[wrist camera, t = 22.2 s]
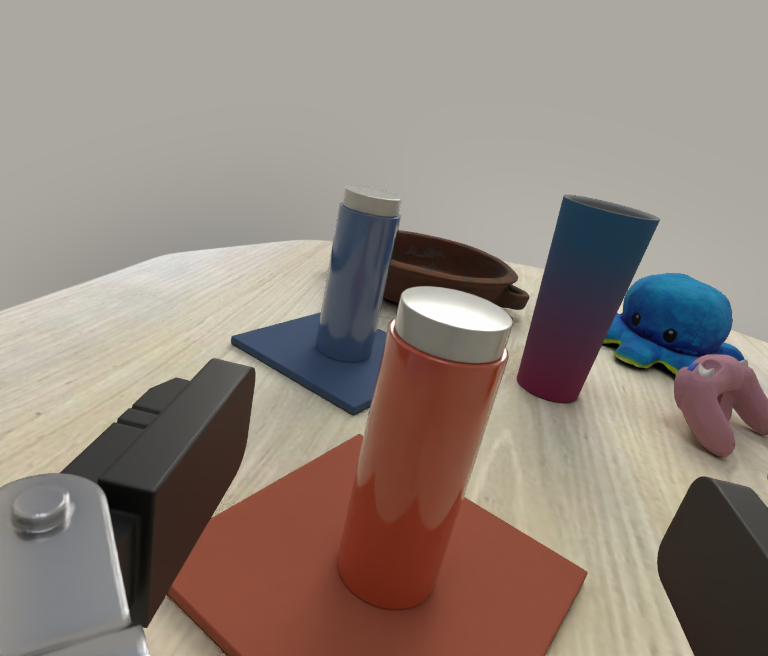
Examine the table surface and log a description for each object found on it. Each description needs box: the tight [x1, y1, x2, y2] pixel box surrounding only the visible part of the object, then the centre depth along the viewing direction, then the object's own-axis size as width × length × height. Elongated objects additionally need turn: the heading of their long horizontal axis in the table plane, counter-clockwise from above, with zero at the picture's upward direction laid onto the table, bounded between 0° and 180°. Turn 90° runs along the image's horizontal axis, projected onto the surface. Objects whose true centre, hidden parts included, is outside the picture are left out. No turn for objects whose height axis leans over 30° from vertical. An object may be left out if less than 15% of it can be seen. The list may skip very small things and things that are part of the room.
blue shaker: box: [316, 185, 402, 362], centre depth 41 cm, size 4×4×12 cm
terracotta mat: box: [167, 434, 587, 656], centre depth 24 cm, size 14×14×1 cm
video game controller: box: [674, 354, 768, 457], centre depth 44 cm, size 10×5×7 cm, turn 126°
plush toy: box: [603, 273, 745, 375], centre depth 58 cm, size 17×17×8 cm
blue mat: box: [231, 313, 386, 415], centre depth 43 cm, size 12×12×1 cm
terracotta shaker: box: [337, 286, 513, 610], centre depth 22 cm, size 4×4×12 cm
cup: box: [517, 195, 660, 403], centre depth 43 cm, size 7×7×15 cm
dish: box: [384, 230, 529, 310], centre depth 61 cm, size 17×22×5 cm
